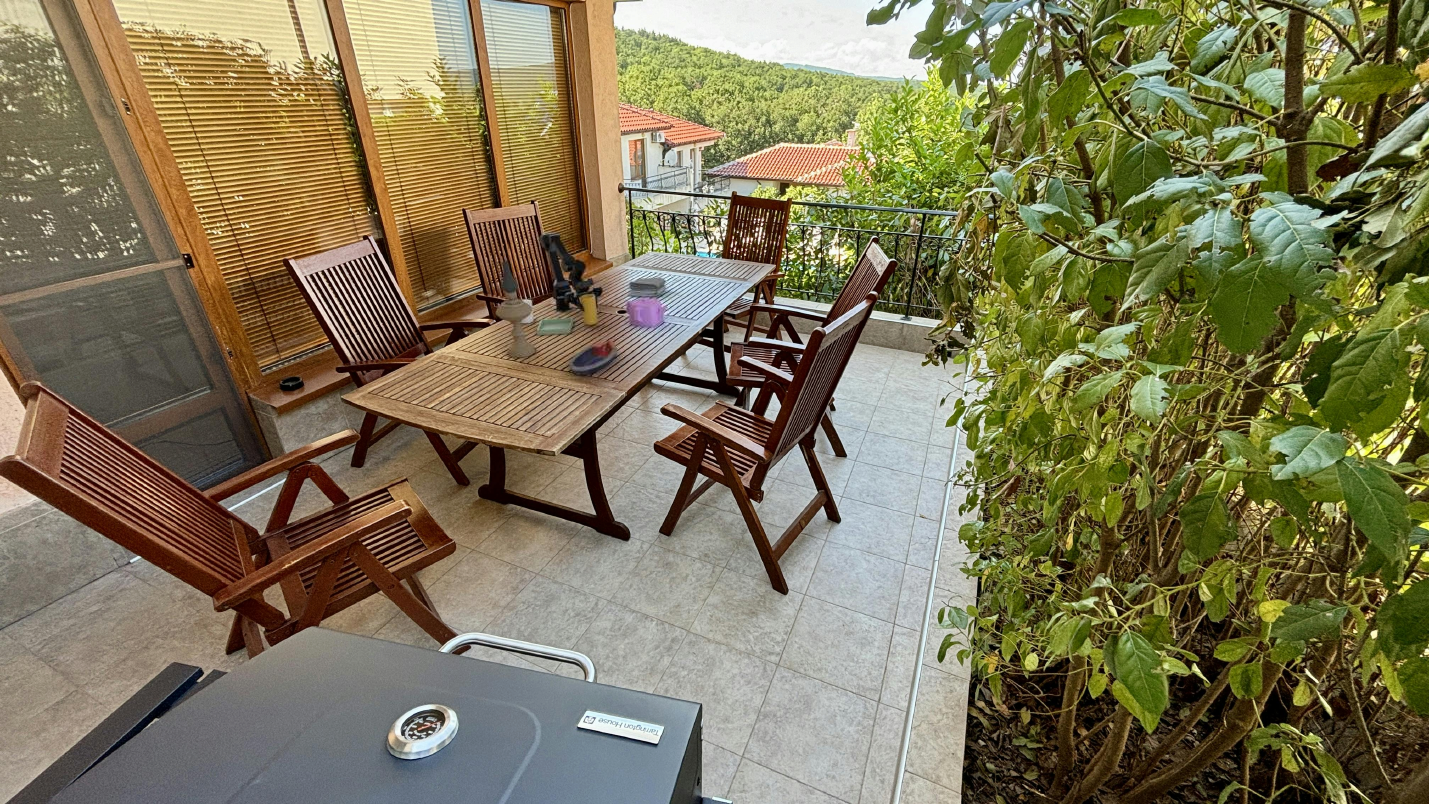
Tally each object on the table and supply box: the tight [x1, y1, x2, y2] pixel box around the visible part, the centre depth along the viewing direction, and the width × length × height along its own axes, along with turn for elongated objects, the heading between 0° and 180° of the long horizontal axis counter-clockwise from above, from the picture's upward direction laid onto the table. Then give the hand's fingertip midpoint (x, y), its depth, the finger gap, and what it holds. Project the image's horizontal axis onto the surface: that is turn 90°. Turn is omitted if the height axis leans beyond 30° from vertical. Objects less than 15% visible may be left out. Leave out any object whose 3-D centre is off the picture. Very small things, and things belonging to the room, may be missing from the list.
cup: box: [580, 294, 599, 325], centre depth 287 cm, size 7×7×13 cm
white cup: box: [521, 299, 535, 324], centre depth 297 cm, size 8×8×10 cm
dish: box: [568, 340, 618, 376], centre depth 248 cm, size 16×31×5 cm, turn 160°
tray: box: [536, 317, 574, 336], centre depth 288 cm, size 15×15×2 cm
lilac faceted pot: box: [625, 297, 668, 328], centre depth 291 cm, size 17×17×12 cm
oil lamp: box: [495, 260, 536, 358], centre depth 253 cm, size 15×15×40 cm
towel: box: [628, 277, 667, 298], centre depth 336 cm, size 15×18×8 cm
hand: (590, 309), depth 286 cm, fingers closed on cup, 6 cm apart
